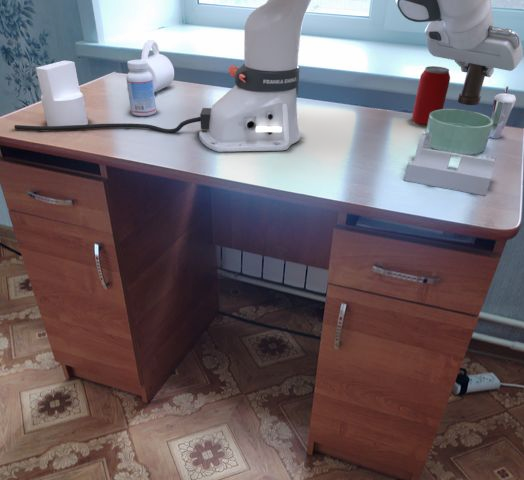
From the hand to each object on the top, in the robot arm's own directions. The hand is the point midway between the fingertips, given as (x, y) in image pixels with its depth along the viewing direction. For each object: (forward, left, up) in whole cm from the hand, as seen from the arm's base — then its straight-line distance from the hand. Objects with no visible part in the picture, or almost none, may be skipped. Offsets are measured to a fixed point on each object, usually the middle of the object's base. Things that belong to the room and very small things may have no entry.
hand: (477, 71), depth 113 cm
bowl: (-10, -10, -12) cm, 18 cm away
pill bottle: (-72, +30, -13) cm, 79 cm away
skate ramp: (-21, -24, -13) cm, 35 cm away
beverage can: (-7, +6, -13) cm, 15 cm away
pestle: (0, 0, -6) cm, 6 cm away
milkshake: (+4, -6, -13) cm, 15 cm away
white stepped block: (-90, +26, -13) cm, 94 cm away
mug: (-65, +50, -13) cm, 83 cm away
